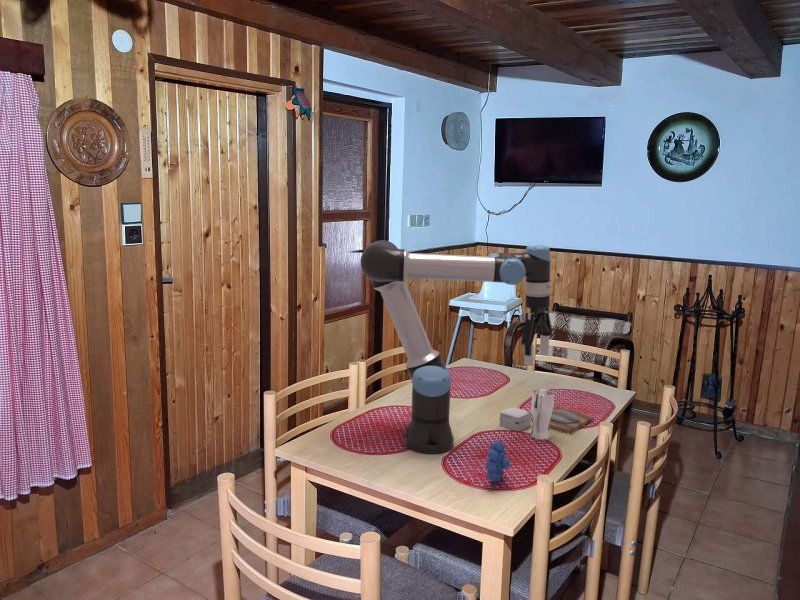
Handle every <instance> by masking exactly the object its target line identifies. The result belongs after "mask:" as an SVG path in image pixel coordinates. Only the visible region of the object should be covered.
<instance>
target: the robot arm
mask: <svg viewBox="0 0 800 600" xmlns="http://www.w3.org/2000/svg"><path fill="white" fill-rule="evenodd" d="M551 261H552V260H551V250H550V247H549V246H547V245H528V246H526V248H525V250H524V251H523V252H496V253H495V252H494V253H489V254H488V255H487V256H486V255H485V256H484V255H483V256H481V255H461V254H438V253H437V254H435V253H418V252H415V253H414V252H409V251H408V250H407V248H406V249H404V248H398V247H397V245H395V244H394V243H392V242H391V241H389V240H385V239H381V240H375V241H373V242H371V243H369V245H367V247H366V248H365V249H364V250H363V252H362V254H361V257H360V261H359V262H360V267H361V271H362V273H363V274H364V276H366V278H368V279H369V281H370V283H371V286H372V288H373V289H374V290H375V291H378V292H380V295H381V297H382V300H383V301H384V304H385V307H386V309H387V312H388V314H389V316H390V319H391V321H392V323H393V326H394V329H395V332H396V333H397V335H398V339H399V341H400V343H401V346H402V348H403V350H404V354H405V356H406V358H407V360H406V363H405V368H406V369H407V372H408V376H409V377H410V379H411V384H412V389H411V390H412V391H411V414H410V415H411V416H410V417H411V419H410V422H409V424H408V428H407V429H406V433H405V435H404V445H405V447H407V448H408V449H410V450H412V451H414V452H418V453H422V454H440V453H446V452H448V451H451V450H452V449H453V448H454V445H455V439H454V436H453V432H452V427H451V424H450V410H451V409H450V408H451V407H450V405H451V387H452V376H451V373H450V372H449V370H448V368H447V366H446V365H445V364H444V362H443V359H442V356H441V355H440V352H439V351H438V350H435V349H433V347H432V344H431V342H430V339H429V338H428V335H427V333H426V329H425V327H424V325H423V322H422V320H421V317H420V315H419V313H418V310H417V307H416V305H415V303H414V300H413V298H412V295H411V293H410V291H409V290H410V289H409V288H408V285H407V284H406V282H407V281H408V280H409V279H417V280H437V281H438V280H439V281H440V280H441V281H460V282H461V281H463V282H465V281H466V282H484V283H486V282H491V283H500V284H501V283H502V284H503V283H504V284H507V285H512V286H515V285H518V284H520V283H521V282H523V280H524V279H525V294H526V295H525V303H524V304H525V305H524V306H525V307H526V308H528V309H530V312H526V313H525V318H524V319H525V320H524V321H525V322H524V325H523V326H524V327H523V333H522V338H521V342H520V344H521V345H523V346H524V347H523V348H524V354H523V355H524V357H523V359H524V360H523V361H524V362H523V363H524V366H529V367H530V366H532V367H533V366H534V356H535V355H534V346H535V345H534V344H533V343H534V341H535V336H536V333H537V330H538V328H539V330H540V334H541V335H540V336H539V337H540V341H539V343H540V345H539V346H540V348H539V349H540V351H539V354H540V356H544V357H545V356H549V355H550V336H551V337H552V336H553V329H552V322H551V318H550V317H551V316H550V306H551V304H550V303H551V297H550V295H549V294H550V291H551V288H552V284H551Z"/></svg>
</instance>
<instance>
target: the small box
mask: <svg viewBox="0 0 800 600" xmlns="http://www.w3.org/2000/svg"><path fill="white" fill-rule="evenodd" d="M531 424H532V412H531V411H527V410H524V409H522V408H518V407H514V406H511V407H509V408H506V409H504V410H500V412H499V426H500V427H502V428H503V427H504V428H506V429H510V430H512V429H513V430H512V431H515V430H516V431H515V432H518V431H519V432H521V431H522V430H525V429H527V428H530V427H531ZM520 430H521V431H520Z"/></svg>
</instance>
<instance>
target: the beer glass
mask: <svg viewBox="0 0 800 600" xmlns="http://www.w3.org/2000/svg"><path fill="white" fill-rule="evenodd" d="M554 394H555V393H554V392H553V391H552V390H548V389H543V388H542V389H541V388H538V389H534V390H533V391H532V396H531V402H530V403H531V406H530V410H531V411H530V412H531V423H532V422H533V424H532V428H531V432H530V437H531V438H532V437H533V438H536V439H543V440H542V441H545V440H544V439H548V440H549V439H550V436H551V435H550V428H549V425H550V421H551V417H552V413H553V409H554V408H555V407H554V405H555V397H554ZM533 438H532V439H533ZM536 439H535V440H536Z"/></svg>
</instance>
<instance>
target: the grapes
mask: <svg viewBox="0 0 800 600" xmlns="http://www.w3.org/2000/svg"><path fill="white" fill-rule="evenodd" d="M489 447H490V450H488V451H487V452H486V456H487V457H488V458H487V461H486V463H484V465H485V467H486V470H487V471H486V472H485V475H486V477H487V478H488V479H489V480H490V481H491V482H492V483H497V482H499V481H500V480H501V477H502V476H504V474H505V472H504V470H508V469H509V468H510V467H511V466H512V463H511V461H510V459H509V458H507V457H506V455H508V452H507V450H506V449H505V448H506V446H505V444H504V443H503V441H501V440H496V441H493V442H492V443H491V444H490V445H489Z"/></svg>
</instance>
